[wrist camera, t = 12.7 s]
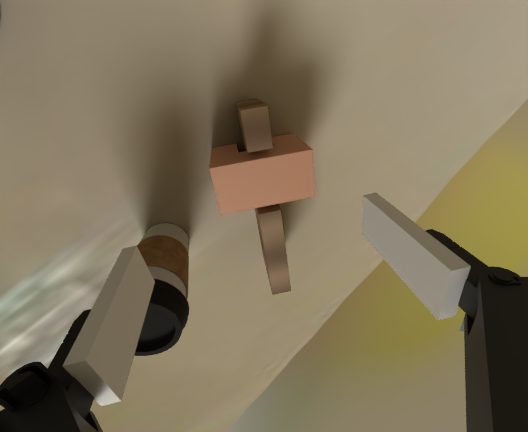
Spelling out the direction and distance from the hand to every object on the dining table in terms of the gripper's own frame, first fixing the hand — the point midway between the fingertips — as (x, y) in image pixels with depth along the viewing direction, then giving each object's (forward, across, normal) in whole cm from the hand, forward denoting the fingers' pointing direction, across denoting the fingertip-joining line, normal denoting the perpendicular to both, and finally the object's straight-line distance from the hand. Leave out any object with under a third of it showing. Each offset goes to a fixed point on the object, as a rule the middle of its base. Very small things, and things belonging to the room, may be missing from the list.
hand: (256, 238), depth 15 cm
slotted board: (+19, +2, -6) cm, 20 cm away
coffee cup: (+20, -12, -10) cm, 25 cm away
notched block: (+19, +2, -2) cm, 20 cm away
